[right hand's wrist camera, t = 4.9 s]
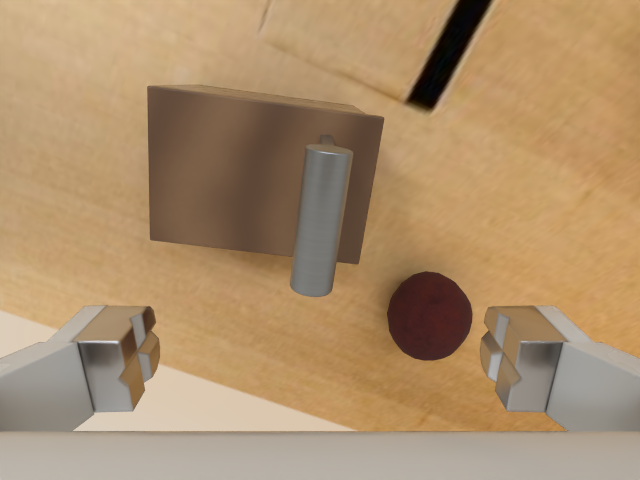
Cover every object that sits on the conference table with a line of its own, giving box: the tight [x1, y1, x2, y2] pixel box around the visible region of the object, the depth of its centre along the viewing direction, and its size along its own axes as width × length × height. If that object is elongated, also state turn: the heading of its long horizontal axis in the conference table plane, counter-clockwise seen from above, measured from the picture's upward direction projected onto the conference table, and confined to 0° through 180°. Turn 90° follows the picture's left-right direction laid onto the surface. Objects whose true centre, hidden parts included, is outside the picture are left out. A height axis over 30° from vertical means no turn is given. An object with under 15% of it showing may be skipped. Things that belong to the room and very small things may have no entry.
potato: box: [387, 271, 472, 360], centre depth 37 cm, size 7×8×7 cm
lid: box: [147, 86, 384, 297], centre depth 23 cm, size 14×10×8 cm
